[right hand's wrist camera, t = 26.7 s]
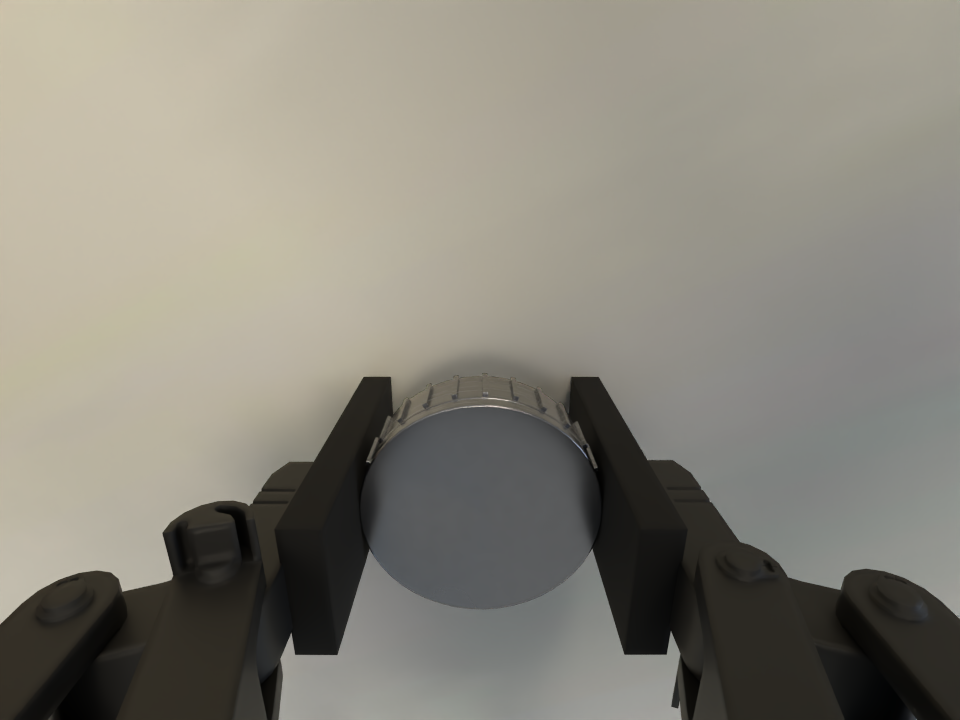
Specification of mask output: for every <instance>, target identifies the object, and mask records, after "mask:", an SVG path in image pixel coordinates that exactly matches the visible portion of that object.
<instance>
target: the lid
mask: <svg viewBox="0 0 960 720" xmlns="http://www.w3.org/2000/svg"><path fill="white" fill-rule="evenodd" d="M365 465H368V468H367V471H366V473H365V476H364V479H363V483H362V486H361V490H360V499H359V511H360V521H361V527H362V531H363V534H364V537H365V539H366V542H367V544H368V546H369V548H370V550H371V552H372V554H373V555H374V557H375V558H376V560H377V561H378V562H379V564H380V565H381V566H382V567H383V568H384V569H385V570H386V571H387V573H388V574H389V575H390V576H391V577H393V578H394V579H395V580H396V581H398V582H399V583H400V584H401V585H403V586H404V587H406V588H407V589H409V590H411V591H412V592H414V593H416V594H418V595H420V596H422V597H424V598H426V599H429V600H432V601H435V602H438V603H440V604H445V605H449V606H453V607H459V608H467V609H493V608H502V607H508V606H513V605H517V604H520V603H524V602H527V601H530V600H532V599H535V598H537V597H539V596H542V595H543V594H545V593H547V592H549V591H551V590H553V589H554V588H556V587H557V586H558V585H560V584H561V583H563V582H564V581H565V580H566V579H568V578H569V577H570V576H571V575H572V574H573V573H574V572H575V571H576V570H577V569H578V568H579V567H580V565H581V564H582V563H583V562H584V560H585V559H586V557H587V556H588V554H589V553H590V551H591V549H592V547H593V545H594V543H595V541H596V539H597V536H598V533H599V529H600V526H601V520H602V510H603V498H602V492H601V486H600V483H599V480H598V477H597V474H596V472H598V471H599V469H598V466H597V463H596V461H595V459H594V456H593V454H592V451H591V449H590V446H589V444H588V443H587V442H586V439H585V437H584V434H583V432H582V429H581V427H580V424H579V423H578V421H577V422H575V423H574V422H573V420H572V419H571V418H570V416H569V415H568V414H567V413H566V411H565V408H564V405H563V404H562V403H561V402H559V403H558V404H557V403H556V402H555V401H553V400H552V399H551V398H550V397H548V396H547V395H545V394H543V392H542V389H541V388H539V387H537V388H536V389H535V388H532V387H530V386H528V385H525V384H523V383H520V382H517V381H516V378H514V377H511V379H505V378H499V377H490V376H487V373H482V376H472V377H462V378H459V376H458V375H457V376H454V378H453V379H452V380H448V381H445V382H442V383H439V384H436V385H433V386H432V384H431V383H430V384H428V385H427V387H426V389H425V390H423V391H421V392H420V393H418V394H417V395H415V396H414V397H412V398H411V399H408V397H407V398H405V399H404V401H403V404H402V406H401V407H400V408H399V409H398V410H397V411H396V412H395V413H394V415H393V416H392V417H390V416H388V417H387V418H386V420H385V422H384V425H383V428H382V430H381V433H380V436H379V438H377V437H375V440H374V442H373V445H372V447H371V450H370V452H369V455H368V457H367V460H366V462H365Z"/></svg>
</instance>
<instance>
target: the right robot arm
mask: <svg viewBox="0 0 960 720" xmlns="http://www.w3.org/2000/svg"><path fill="white" fill-rule="evenodd" d="M388 416H390V417H392V416H393V407H392V392H391V377H363V379H362V381H361V383H360V384H359V386H358V388H357V389H356V391H355V393H354V395H353V396H352V398H351V400H350V401H349V403H348V405H347V406H346V408H345V410H344V412H343V413H342V415H341V417H340V418H339V420H338V422H337V423H336V425H335V427H334V429H333V430H332V432H331V434H330V435H329V437H328V439H327V440H326V442H325V444H324V446H323V447H322V449H321V451H320V452H319V454H318V456H317V457H316V459H315V461H314V462H289V463H287V464H286V465H284V466H283V467H282V468H280V469H279V470H277V471H276V472H274V473H273V474H272V475H271V476H270V478H269V479H268V480H267V482H266V483H265V485H264V486H263V488H262V491H261V492H259V493H258V495H257V496H256V498H255V499H254V500H253V504H251V505H250V506H248V505H247V504H245V503H241V502H237V501H217V502H213V503H209V504H205V505H201V506H199V507H196V508H194V509H192V510H189V511H187V512H185V513H183V514H182V515H180V516H179V517H178V518H176V519H175V520H173V521H172V522H171V523H170V524H169V525H168V527H167V528H166V529H165V530H164V532H163V537H164V541H165V545H166V549H167V552H168V556H169V560H170V564H171V568H172V572H173V578H172V580H171V581H167V582H164V583H160V584H156V585H151V586H147V587H142V588H138V589H133V590H129V591H124V592H122V589H121V586H120V582H119V579H118V578H117V577H115V576H114V575H113V574H112V573H110V572H103V571H91V572H84V573H78V574H75V575H72V576H69V577H66V578H63V579H60V580H58V581H56V582H54V583H52V584H50V585H48V586H46V587H45V588H43V589H41V590H39V591H38V592H36V593H35V594H34V595H32V596H31V597H30V598H29V599H27V600H26V601H25V602H23V603H22V604H21V605H20V606H19V607H18V608H17V609H16V610H15V611H14V612H13V613H12V614H11V615H10V616H9V617H8V618H7V619H5V620H4V621H3V622H2V623H1V624H0V720H278V719H279V709H280V699H281V690H282V680H283V673H282V665H281V660H280V658H281V656H282V653H283V651H284V649H285V646H286V644H287V641H288V639H289V637H290V634H291V632H292V638H293V644H294V650H295V655H337V654H338V651H339V648H340V645H341V641H342V638H343V635H344V631H345V628H346V625H347V621H348V618H349V615H350V612H351V608H352V605H353V602H354V598H355V595H356V592H357V588H358V585H359V582H360V579H361V575H362V572H363V569H364V565H365V562H366V559H367V555H368V552H369V549H370V548H369V546H368V544H367V542H366V539H365V537H364V534H363V531H362V527H361V521H360V511H359V499H360V490H361V486H362V483H363V479H364V476H365V473H366V471H367V468H368V465H365V462H366V460H367V457H368V455H369V452H370V450H371V447H372V445H373V442H374V440H375V437H377V438H379V436H380V433H381V430H382V428H383V425H384V422H385V420H386V418H387V417H388ZM569 416H570V418H571V419H572V420H573V422H574V423H575V422H577V421H578V423H579V424H580V427H581V429H582V432H583V434H584V437H585V439H586V442H587V443H588V444H589V446H590V449H591V451H592V454H593V456H594V459H595V461H596V463H597V466H598V469H599V471H598V472H596V474H597V477H598V480H599V483H600V486H601V492H602V498H603V510H602V520H601V526H600V529H599V533H598V536H597V539H596V541H595V543H594V545H593V547H592V549H593V552H594V555H595V559H596V562H597V565H598V569H599V572H600V575H601V578H602V582H603V585H604V588H605V592H606V595H607V598H608V602H609V605H610V608H611V612H612V615H613V618H614V622H615V625H616V628H617V631H618V635H619V638H620V641H621V645H622V648H623V651H624V655H667V649H668V644H669V638H670V632H672V634H673V637H674V639H675V641H676V644H677V646H678V649H679V651H680V653H681V654H680V660H679V665H678V671H677V676H676V682H675V687H674V693H673V699H672V706H671V707H675V708H678V706H679V701H680V708H681V718H682V720H916V719H917V720H960V619H959V618H958V617H957V616H956V615H955V614H954V613H953V612H952V611H951V610H950V609H949V608H947V607H946V606H945V605H944V604H943V603H942V602H941V601H940V600H939V599H937V598H936V597H935V596H933V595H932V594H931V593H929V592H928V591H927V590H925V589H924V588H922V587H920V586H918V585H916V584H915V583H913V582H911V581H909V580H907V579H905V578H902V577H900V576H897V575H893V574H891V573H888V572H885V571H878V570H871V569H862V570H855V571H852V572H850V573H849V574H848V575H847V576H845V577H844V581H843V584H842V587H841V590H837V589H833V588H829V587H824V586H820V585H815V584H811V583H806V582H802V581H798V580H795V579H791V578H788V577H787V575H786V573H785V572H784V570H783V569H782V567H781V566H780V564H779V563H778V562H777V561H775V560H774V559H773V558H772V557H770V556H769V555H768V554H767V553H765V552H763V551H761V550H759V549H757V548H755V547H753V546H751V545H748V544H744V543H741V542H739V540H738V539H737V538H736V536H735V535H734V533H733V532H732V530H731V529H730V528H729V526H728V525H727V523H726V522H725V521H724V519H723V518H722V516H721V515H720V514H719V512H718V511H717V509H716V508H715V506H714V505H713V504H712V502H710V501H709V498H708V497H707V495H706V494H705V492H704V491H703V490H701V487H700V485H699V484H698V482H697V481H696V480H695V478H694V477H693V475H692V474H691V473H690V472H689V471H687V470H686V469H685V468H683V467H682V466H680V465H679V464H677V463H676V462H675V461H673V460H647V459H646V457H645V455H644V454H643V452H642V450H641V449H640V447H639V445H638V443H637V442H636V440H635V438H634V437H633V435H632V433H631V432H630V430H629V428H628V426H627V425H626V423H625V421H624V420H623V418H622V416H621V414H620V413H619V411H618V409H617V408H616V406H615V404H614V403H613V401H612V399H611V397H610V396H609V394H608V392H607V391H606V389H605V387H604V386H603V384H602V382H601V380H600V379H599V377H572V380H571V395H570V410H569Z"/></svg>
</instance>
